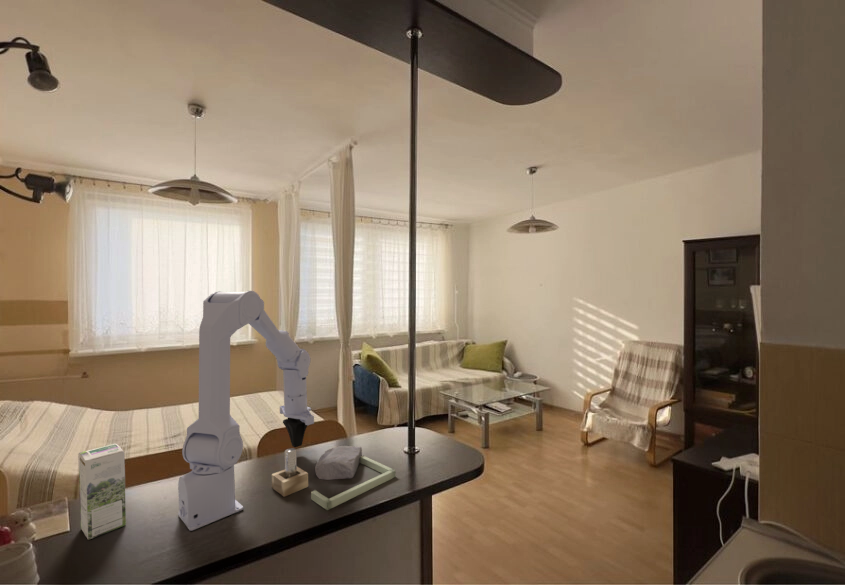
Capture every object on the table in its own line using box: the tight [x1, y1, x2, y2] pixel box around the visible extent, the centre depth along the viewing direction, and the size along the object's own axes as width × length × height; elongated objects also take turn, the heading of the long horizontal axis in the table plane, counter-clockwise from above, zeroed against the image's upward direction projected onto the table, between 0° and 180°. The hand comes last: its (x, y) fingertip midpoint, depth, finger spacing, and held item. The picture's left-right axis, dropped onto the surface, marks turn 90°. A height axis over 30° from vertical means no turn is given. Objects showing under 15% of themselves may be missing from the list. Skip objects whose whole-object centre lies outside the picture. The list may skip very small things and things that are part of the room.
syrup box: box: [77, 443, 127, 541], centre depth 73 cm, size 6×6×14 cm
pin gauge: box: [284, 447, 298, 479], centre depth 87 cm, size 2×2×8 cm
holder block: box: [271, 466, 309, 498], centre depth 86 cm, size 6×6×3 cm
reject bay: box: [310, 455, 397, 511], centre depth 88 cm, size 18×12×2 cm, turn 136°
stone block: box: [314, 445, 363, 481], centre depth 95 cm, size 12×5×10 cm
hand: (297, 445), depth 103 cm, fingers closed
